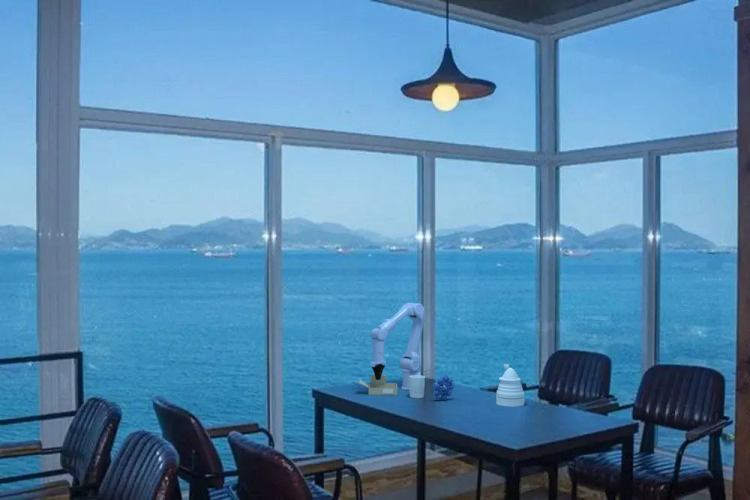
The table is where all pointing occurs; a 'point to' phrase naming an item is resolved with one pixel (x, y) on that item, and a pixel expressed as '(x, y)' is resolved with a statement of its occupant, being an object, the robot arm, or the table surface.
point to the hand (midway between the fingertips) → (378, 379)
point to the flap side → (373, 380)
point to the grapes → (443, 387)
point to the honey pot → (510, 389)
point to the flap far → (363, 383)
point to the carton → (382, 388)
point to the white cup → (416, 386)
